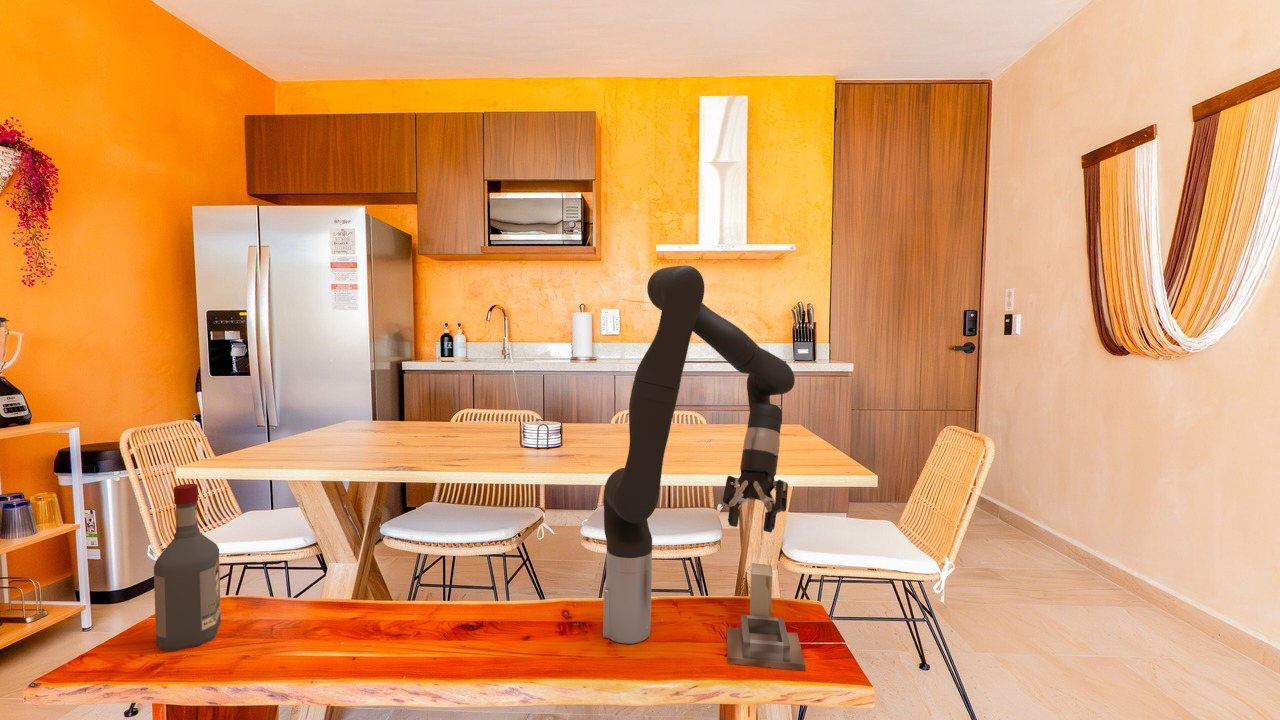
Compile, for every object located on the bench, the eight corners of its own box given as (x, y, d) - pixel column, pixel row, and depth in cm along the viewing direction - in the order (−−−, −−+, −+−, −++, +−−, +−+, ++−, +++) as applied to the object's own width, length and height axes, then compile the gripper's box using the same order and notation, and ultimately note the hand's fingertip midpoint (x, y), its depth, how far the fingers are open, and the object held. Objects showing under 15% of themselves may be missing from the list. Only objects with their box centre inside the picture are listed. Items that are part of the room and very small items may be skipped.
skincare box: (770, 635, 118) (772, 576, 117) (749, 632, 119) (750, 574, 118) (770, 619, 124) (772, 563, 124) (749, 617, 125) (751, 562, 124)
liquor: (153, 655, 107) (148, 495, 105) (166, 632, 115) (162, 482, 113) (214, 643, 111) (210, 489, 109) (222, 621, 119) (219, 478, 117)
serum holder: (727, 663, 108) (728, 641, 107) (726, 632, 118) (727, 612, 118) (805, 670, 106) (806, 648, 106) (796, 638, 117) (797, 618, 116)
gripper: (723, 446, 127) (711, 521, 122) (780, 448, 117) (769, 530, 112) (743, 454, 132) (732, 527, 127) (799, 457, 122) (789, 536, 117)
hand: (749, 528), depth 119 cm, fingers open, 8 cm apart
